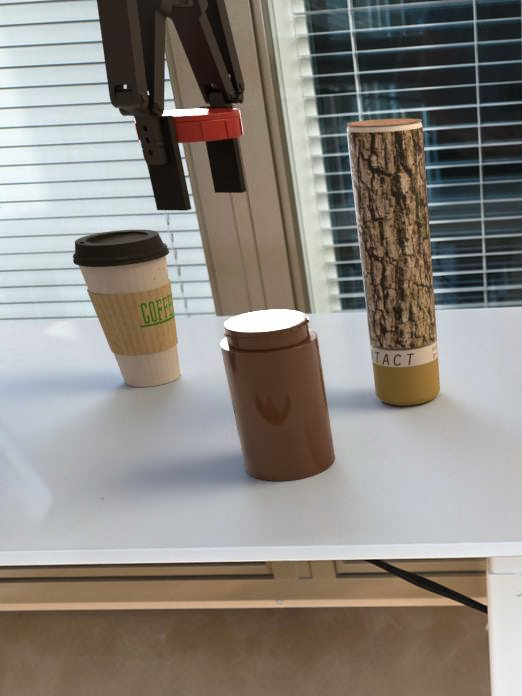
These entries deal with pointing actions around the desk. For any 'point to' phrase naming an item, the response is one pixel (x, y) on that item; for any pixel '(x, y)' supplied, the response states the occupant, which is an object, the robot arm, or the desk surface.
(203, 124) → the lid
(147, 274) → the coffee cup
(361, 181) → the paper tube
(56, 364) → the desk surface
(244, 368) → the jar
